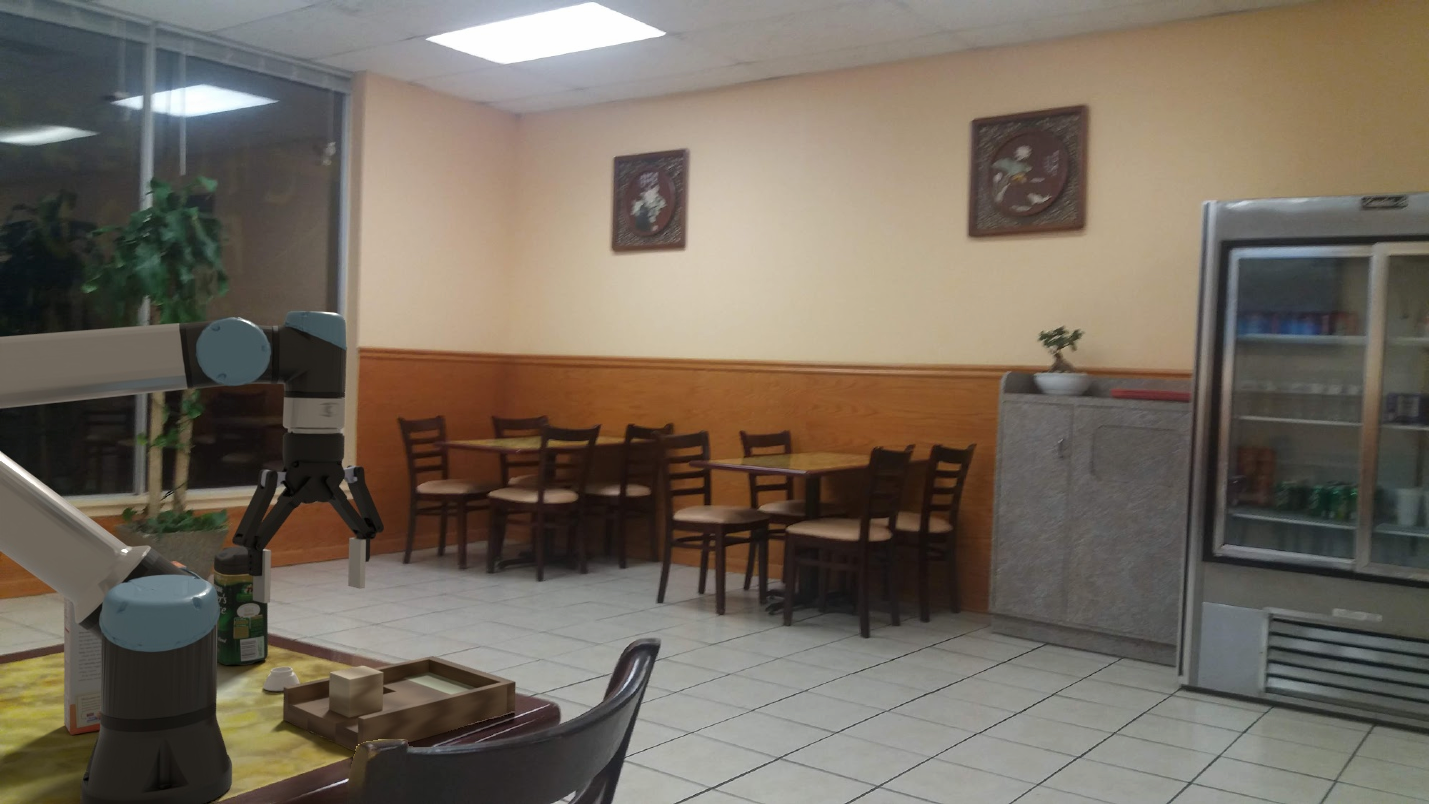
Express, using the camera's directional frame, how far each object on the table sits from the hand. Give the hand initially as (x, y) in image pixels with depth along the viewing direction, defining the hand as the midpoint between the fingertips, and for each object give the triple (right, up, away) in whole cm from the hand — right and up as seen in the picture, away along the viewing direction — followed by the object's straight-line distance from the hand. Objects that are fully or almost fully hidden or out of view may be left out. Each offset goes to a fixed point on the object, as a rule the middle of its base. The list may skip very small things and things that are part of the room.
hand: (310, 594), depth 140 cm
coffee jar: (-26, -18, +38) cm, 49 cm away
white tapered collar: (-13, -19, +23) cm, 32 cm away
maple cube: (+4, -16, +5) cm, 18 cm away
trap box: (+8, -19, +9) cm, 22 cm away
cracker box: (-27, -18, +5) cm, 33 cm away
